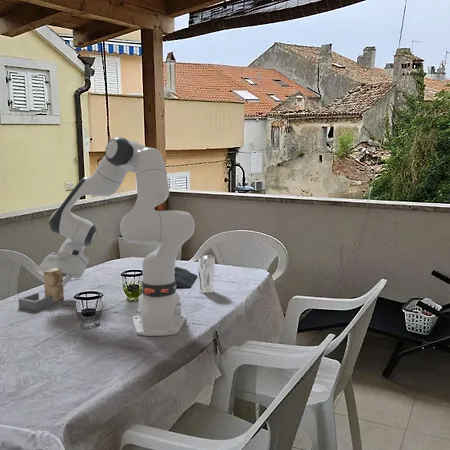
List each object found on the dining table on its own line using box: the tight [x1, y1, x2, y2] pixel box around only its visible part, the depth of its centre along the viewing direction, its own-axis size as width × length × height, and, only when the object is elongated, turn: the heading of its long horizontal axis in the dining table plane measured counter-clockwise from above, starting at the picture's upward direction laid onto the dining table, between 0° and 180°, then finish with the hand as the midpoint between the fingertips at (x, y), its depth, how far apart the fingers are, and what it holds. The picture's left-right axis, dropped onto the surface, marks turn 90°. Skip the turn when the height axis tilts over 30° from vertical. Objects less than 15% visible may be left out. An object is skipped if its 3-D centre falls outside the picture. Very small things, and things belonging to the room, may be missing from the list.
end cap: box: [18, 292, 54, 312], centre depth 192 cm, size 9×8×4 cm
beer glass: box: [197, 254, 216, 294], centre depth 211 cm, size 7×7×15 cm
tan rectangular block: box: [43, 268, 65, 303], centre depth 200 cm, size 6×4×12 cm, turn 154°
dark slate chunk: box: [175, 266, 198, 289], centre depth 227 cm, size 15×22×5 cm
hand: (52, 283), depth 199 cm, fingers open, 8 cm apart
